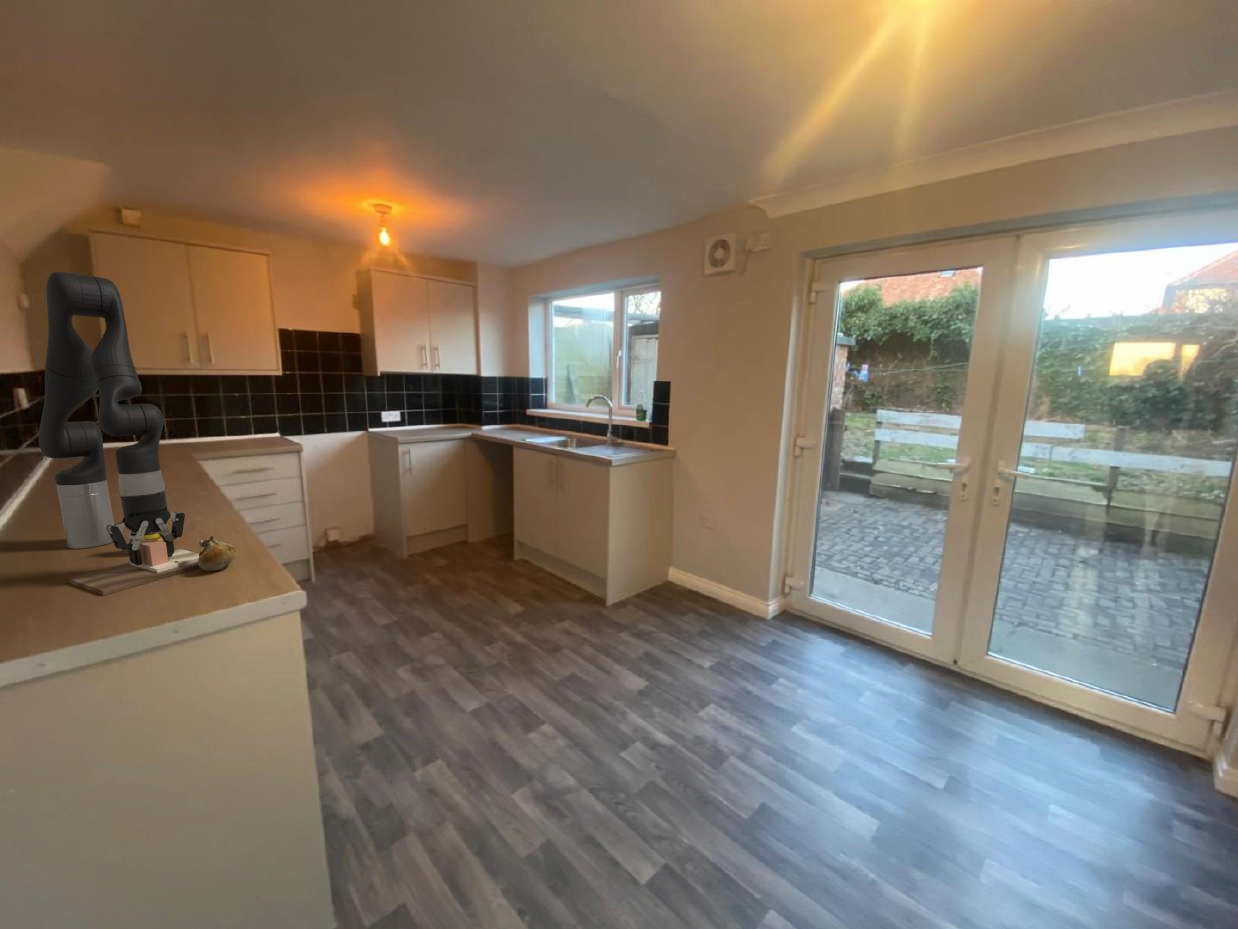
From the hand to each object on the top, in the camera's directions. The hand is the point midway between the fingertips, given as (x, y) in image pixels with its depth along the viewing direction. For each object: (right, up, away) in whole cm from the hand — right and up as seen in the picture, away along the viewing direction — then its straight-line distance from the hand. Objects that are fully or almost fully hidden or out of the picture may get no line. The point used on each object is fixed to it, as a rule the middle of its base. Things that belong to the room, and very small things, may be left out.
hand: (153, 560), depth 117 cm
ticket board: (-1, -3, -1) cm, 3 cm away
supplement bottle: (-12, 0, +12) cm, 17 cm away
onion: (+14, -3, +1) cm, 15 cm away
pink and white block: (0, -1, 0) cm, 1 cm away
